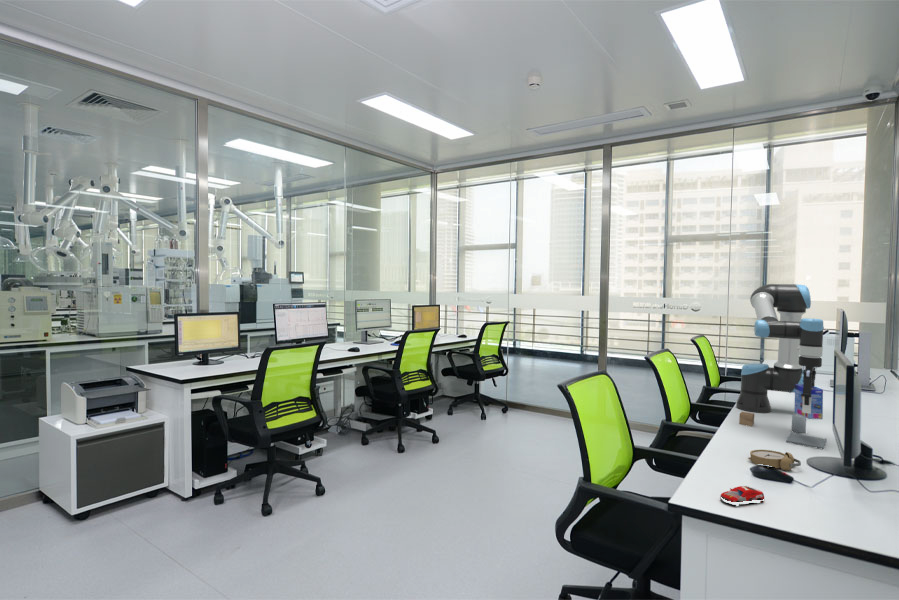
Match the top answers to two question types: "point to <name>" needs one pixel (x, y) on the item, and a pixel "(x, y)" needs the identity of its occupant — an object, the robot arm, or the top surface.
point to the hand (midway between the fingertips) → (807, 410)
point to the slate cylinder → (798, 424)
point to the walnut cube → (746, 418)
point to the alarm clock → (774, 459)
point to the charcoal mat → (806, 440)
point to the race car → (742, 494)
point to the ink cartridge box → (815, 402)
